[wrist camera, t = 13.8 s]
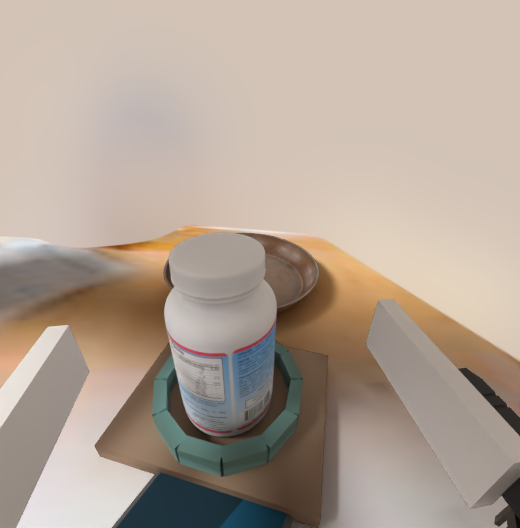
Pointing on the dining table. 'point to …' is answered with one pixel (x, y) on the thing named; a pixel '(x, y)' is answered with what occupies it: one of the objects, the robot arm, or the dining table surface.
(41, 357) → the robot arm
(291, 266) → the plant saucer
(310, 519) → the holder board
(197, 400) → the pill bottle
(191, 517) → the smartphone
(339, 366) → the dining table surface
